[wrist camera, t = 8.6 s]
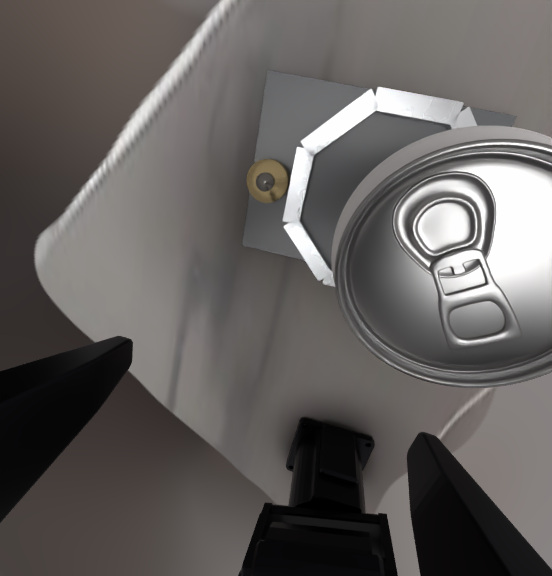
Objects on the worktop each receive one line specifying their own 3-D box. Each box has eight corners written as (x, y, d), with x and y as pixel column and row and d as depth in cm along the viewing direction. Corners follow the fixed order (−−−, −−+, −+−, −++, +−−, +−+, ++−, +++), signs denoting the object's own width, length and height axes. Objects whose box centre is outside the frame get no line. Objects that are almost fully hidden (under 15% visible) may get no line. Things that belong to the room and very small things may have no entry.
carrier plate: (432, 289, 20) (435, 292, 19) (243, 243, 21) (241, 245, 20) (511, 117, 15) (516, 116, 15) (269, 72, 17) (267, 69, 16)
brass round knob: (285, 204, 19) (281, 208, 17) (249, 196, 19) (241, 199, 17) (293, 163, 18) (289, 163, 16) (255, 155, 18) (246, 154, 16)
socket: (436, 307, 20) (440, 313, 19) (274, 267, 20) (272, 271, 20) (527, 118, 15) (536, 115, 14) (312, 78, 16) (311, 74, 15)
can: (471, 123, 15) (639, 18, 4) (508, 242, 16) (711, 381, 6) (348, 184, 18) (276, 207, 7) (387, 280, 19) (371, 416, 9)
